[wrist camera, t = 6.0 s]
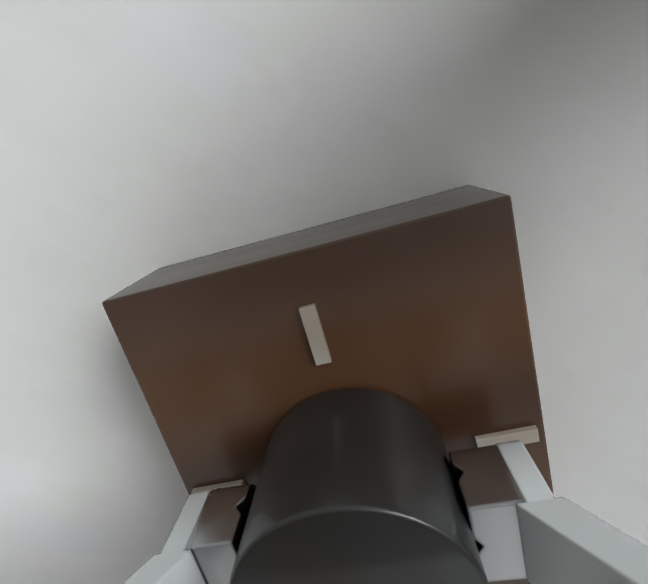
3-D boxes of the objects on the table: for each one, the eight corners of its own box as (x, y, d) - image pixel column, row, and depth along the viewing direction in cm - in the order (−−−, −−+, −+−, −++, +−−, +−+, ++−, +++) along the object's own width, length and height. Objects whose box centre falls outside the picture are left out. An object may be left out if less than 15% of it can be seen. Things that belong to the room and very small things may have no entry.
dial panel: (525, 509, 14) (572, 605, 11) (272, 549, 15) (253, 645, 12) (470, 184, 11) (514, 195, 8) (158, 268, 12) (96, 304, 9)
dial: (427, 369, 9) (475, 502, 6) (461, 520, 11) (518, 709, 7) (243, 407, 10) (181, 549, 6) (295, 545, 11) (268, 731, 8)
